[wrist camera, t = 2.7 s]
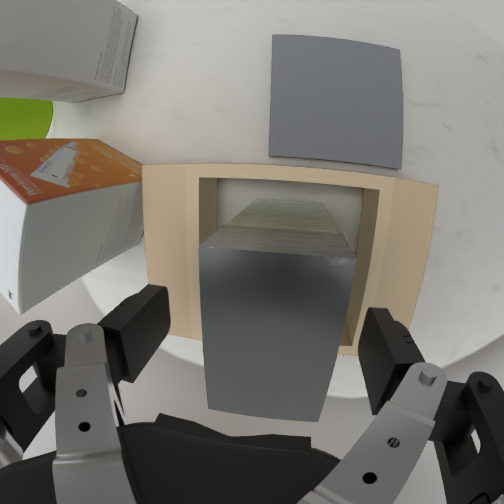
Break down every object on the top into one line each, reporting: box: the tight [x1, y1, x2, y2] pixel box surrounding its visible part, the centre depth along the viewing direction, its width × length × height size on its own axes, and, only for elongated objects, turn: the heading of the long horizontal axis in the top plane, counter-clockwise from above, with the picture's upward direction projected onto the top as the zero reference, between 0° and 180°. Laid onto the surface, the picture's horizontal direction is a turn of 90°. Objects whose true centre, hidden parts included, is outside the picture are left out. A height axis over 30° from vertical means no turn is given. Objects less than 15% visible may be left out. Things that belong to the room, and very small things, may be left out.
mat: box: [269, 35, 403, 169], centre depth 16 cm, size 9×9×1 cm
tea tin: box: [198, 198, 356, 422], centre depth 15 cm, size 5×7×12 cm, turn 178°
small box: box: [0, 138, 144, 315], centre depth 15 cm, size 8×6×13 cm
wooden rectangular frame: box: [142, 163, 438, 356], centre depth 19 cm, size 18×12×4 cm, turn 88°
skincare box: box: [0, 0, 137, 103], centre depth 10 cm, size 8×7×16 cm
